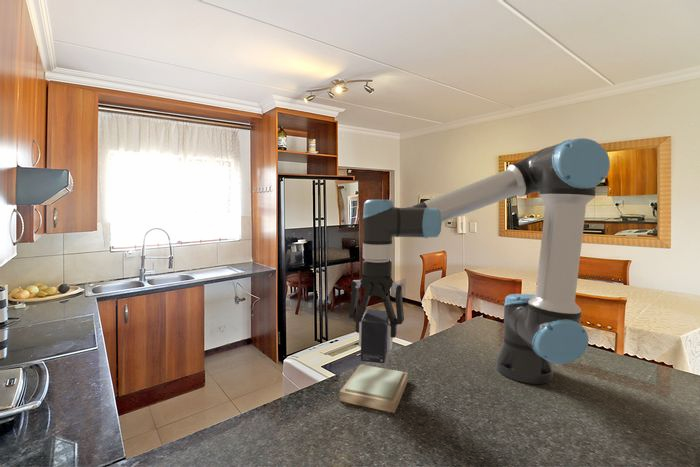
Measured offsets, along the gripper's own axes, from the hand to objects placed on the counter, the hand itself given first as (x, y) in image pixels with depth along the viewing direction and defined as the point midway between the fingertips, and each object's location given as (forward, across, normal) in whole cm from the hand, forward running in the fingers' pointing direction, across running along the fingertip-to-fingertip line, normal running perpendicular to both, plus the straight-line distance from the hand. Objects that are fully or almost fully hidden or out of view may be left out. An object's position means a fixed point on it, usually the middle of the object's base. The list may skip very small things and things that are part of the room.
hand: (375, 346), depth 91 cm
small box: (+2, 0, 0) cm, 2 cm away
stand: (+12, 0, 0) cm, 12 cm away
